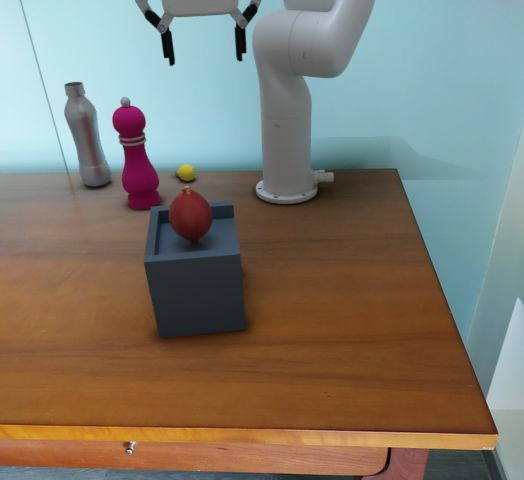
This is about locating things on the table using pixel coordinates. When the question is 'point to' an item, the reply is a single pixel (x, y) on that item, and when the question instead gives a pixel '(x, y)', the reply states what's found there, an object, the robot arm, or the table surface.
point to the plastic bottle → (86, 136)
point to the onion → (190, 215)
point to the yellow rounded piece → (185, 172)
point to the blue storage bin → (195, 275)
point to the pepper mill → (135, 157)
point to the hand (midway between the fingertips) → (206, 61)
